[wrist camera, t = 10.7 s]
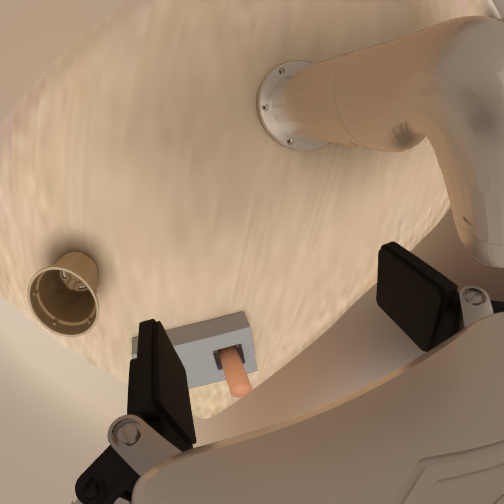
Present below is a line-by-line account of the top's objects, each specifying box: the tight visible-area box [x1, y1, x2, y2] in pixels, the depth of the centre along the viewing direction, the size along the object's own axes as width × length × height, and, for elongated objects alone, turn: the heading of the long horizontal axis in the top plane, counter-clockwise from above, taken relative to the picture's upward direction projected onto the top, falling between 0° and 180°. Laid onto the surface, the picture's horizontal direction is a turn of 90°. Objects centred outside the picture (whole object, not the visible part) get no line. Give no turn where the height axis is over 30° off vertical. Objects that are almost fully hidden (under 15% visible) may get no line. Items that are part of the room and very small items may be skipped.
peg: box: [217, 345, 252, 397], centre depth 41 cm, size 3×3×11 cm
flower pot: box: [28, 251, 99, 337], centre depth 31 cm, size 9×9×9 cm
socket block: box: [132, 312, 258, 389], centre depth 43 cm, size 18×10×4 cm, turn 97°
